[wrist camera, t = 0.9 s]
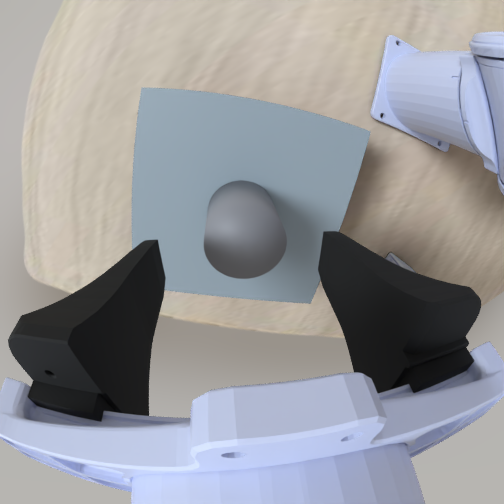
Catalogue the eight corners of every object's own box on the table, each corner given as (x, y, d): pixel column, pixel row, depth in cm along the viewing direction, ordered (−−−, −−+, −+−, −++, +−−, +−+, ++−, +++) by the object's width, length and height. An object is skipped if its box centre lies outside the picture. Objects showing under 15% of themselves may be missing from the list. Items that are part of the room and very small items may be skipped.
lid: (357, 127, 16) (408, 144, 11) (305, 289, 23) (324, 341, 18) (150, 88, 13) (115, 85, 9) (139, 271, 20) (120, 325, 15)
